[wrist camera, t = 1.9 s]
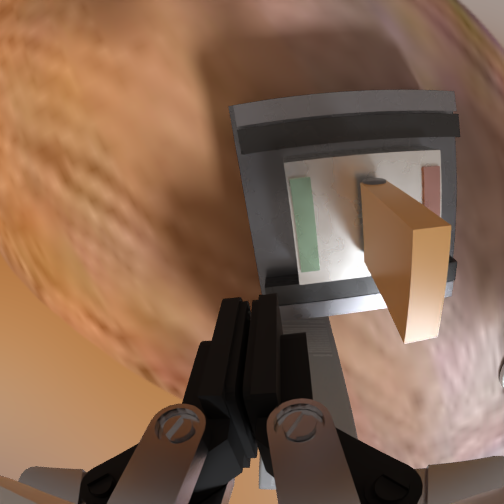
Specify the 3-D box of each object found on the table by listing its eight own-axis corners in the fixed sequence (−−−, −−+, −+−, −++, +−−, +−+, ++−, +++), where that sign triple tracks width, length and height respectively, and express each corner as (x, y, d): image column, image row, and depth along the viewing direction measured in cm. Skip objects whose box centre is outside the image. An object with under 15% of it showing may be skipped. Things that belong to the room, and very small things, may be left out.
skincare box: (263, 304, 31) (248, 441, 17) (335, 306, 31) (364, 441, 16) (261, 366, 35) (248, 492, 20) (324, 368, 34) (336, 492, 20)
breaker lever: (385, 256, 19) (437, 338, 12) (362, 260, 20) (403, 345, 12) (383, 176, 18) (451, 222, 10) (357, 179, 18) (412, 227, 10)
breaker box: (428, 262, 28) (465, 307, 21) (267, 283, 30) (263, 338, 23) (423, 93, 22) (473, 89, 15) (237, 108, 24) (219, 104, 17)
